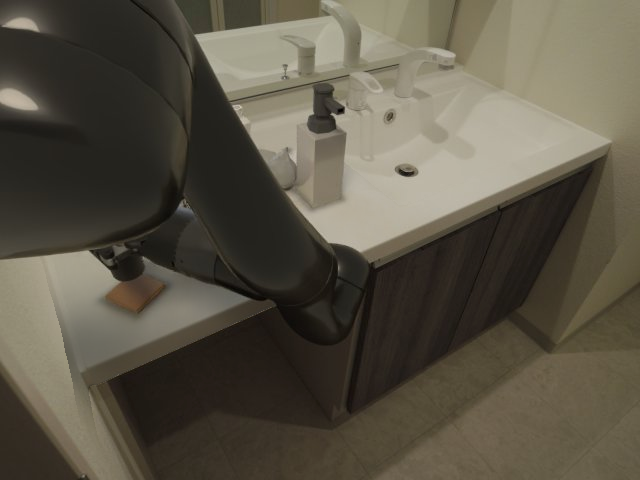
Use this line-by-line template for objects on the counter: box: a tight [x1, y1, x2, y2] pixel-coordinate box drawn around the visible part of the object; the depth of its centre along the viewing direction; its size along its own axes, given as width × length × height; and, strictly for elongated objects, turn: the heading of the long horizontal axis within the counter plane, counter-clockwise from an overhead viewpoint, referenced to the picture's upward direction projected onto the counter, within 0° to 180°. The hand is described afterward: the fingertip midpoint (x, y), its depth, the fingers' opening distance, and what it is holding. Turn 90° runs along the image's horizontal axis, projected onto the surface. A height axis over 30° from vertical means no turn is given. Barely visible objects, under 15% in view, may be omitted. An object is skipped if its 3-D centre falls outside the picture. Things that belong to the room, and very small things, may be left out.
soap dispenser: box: [295, 82, 348, 209], centre depth 75 cm, size 6×9×22 cm
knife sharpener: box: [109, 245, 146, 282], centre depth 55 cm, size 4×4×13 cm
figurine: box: [268, 149, 297, 190], centre depth 83 cm, size 6×7×8 cm
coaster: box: [104, 273, 166, 315], centre depth 63 cm, size 6×6×1 cm
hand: (89, 206), depth 53 cm, fingers closed on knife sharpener, 4 cm apart
